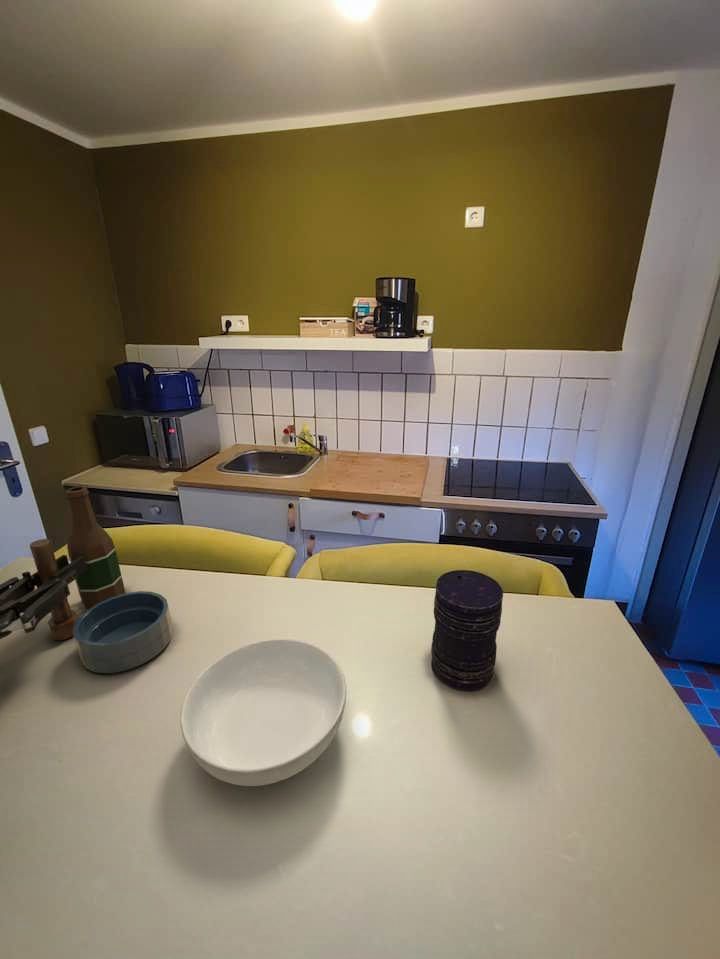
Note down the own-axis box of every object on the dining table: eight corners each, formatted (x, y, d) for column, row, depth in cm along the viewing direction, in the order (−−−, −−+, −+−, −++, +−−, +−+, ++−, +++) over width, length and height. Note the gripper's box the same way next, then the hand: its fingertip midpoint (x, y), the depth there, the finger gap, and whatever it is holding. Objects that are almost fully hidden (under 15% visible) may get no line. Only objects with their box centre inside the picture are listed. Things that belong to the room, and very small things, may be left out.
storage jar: (506, 684, 65) (518, 601, 60) (448, 699, 62) (455, 614, 57) (472, 640, 74) (480, 565, 69) (420, 652, 71) (424, 575, 66)
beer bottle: (124, 606, 84) (96, 492, 75) (78, 616, 81) (44, 499, 73) (128, 585, 91) (103, 479, 82) (86, 593, 88) (56, 484, 80)
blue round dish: (62, 661, 70) (52, 631, 68) (133, 611, 82) (127, 584, 80) (123, 686, 65) (115, 655, 63) (190, 629, 77) (185, 601, 75)
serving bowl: (368, 692, 64) (367, 655, 61) (304, 843, 45) (300, 799, 43) (248, 658, 70) (244, 623, 68) (150, 778, 52) (139, 736, 50)
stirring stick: (46, 636, 76) (17, 546, 69) (70, 621, 79) (44, 534, 73) (62, 643, 74) (34, 551, 68) (86, 627, 78) (62, 539, 72)
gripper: (-100, 672, 58) (41, 577, 80) (3, 683, 56) (119, 582, 78) (-122, 627, 56) (30, 541, 78) (-15, 637, 54) (110, 546, 76)
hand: (74, 562), depth 78 cm, fingers closed on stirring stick, 3 cm apart
